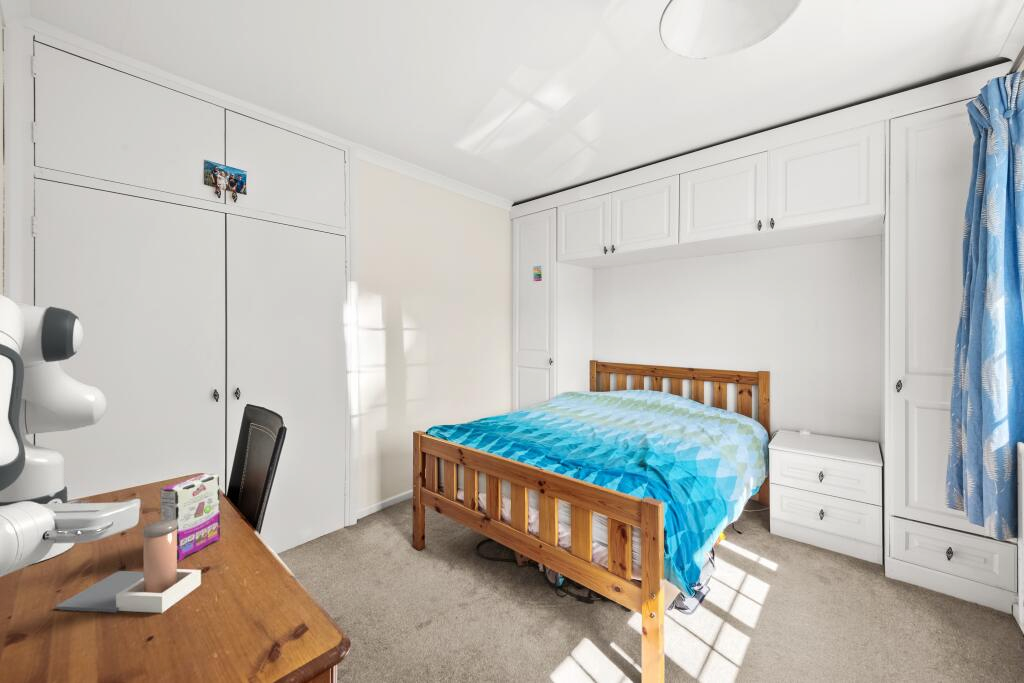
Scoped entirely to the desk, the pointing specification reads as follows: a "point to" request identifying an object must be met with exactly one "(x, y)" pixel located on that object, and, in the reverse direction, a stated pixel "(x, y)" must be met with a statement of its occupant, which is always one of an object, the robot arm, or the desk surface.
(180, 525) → the candy bar box
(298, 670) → the desk surface
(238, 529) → the desk surface
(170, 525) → the canister
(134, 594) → the frame
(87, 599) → the mat
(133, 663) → the desk surface
